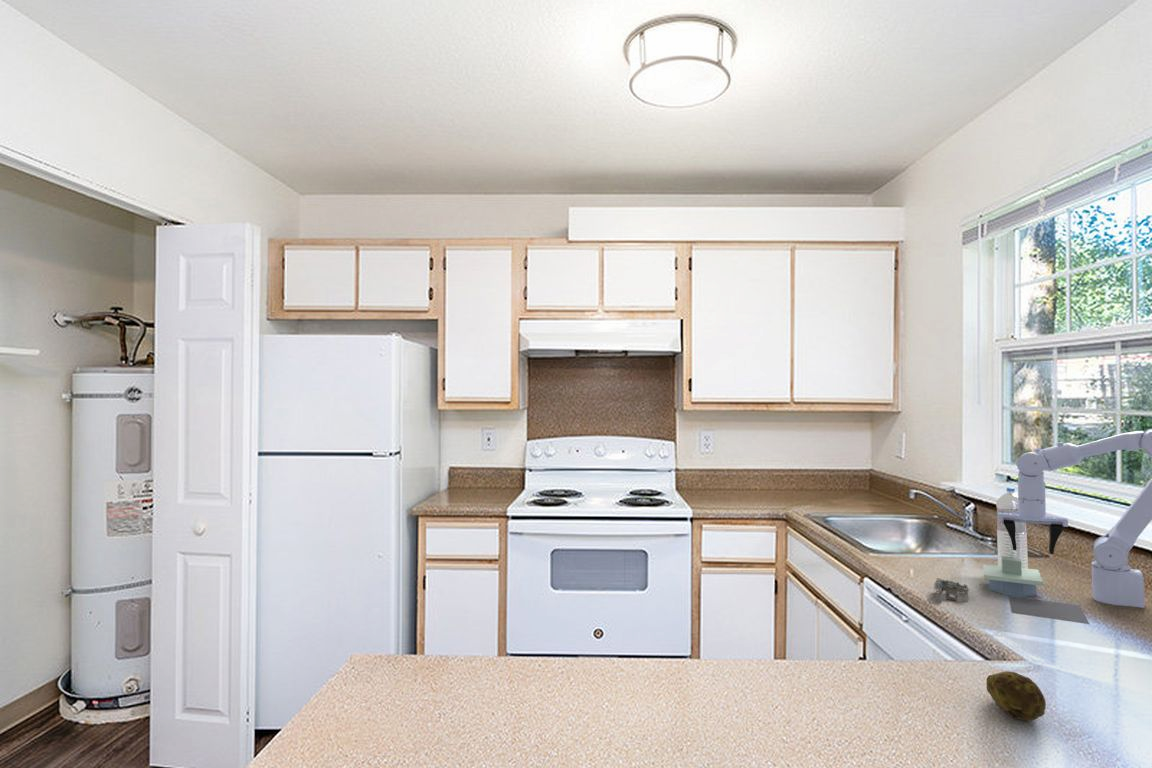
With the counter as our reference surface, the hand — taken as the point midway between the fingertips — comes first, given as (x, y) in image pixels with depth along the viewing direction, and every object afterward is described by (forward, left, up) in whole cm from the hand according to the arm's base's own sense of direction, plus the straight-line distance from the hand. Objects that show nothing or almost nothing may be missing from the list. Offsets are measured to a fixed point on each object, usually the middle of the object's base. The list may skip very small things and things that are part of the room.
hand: (1032, 551), depth 161 cm
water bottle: (+4, -12, -11) cm, 17 cm away
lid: (+5, +4, -6) cm, 9 cm away
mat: (-1, +17, -10) cm, 20 cm away
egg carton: (+18, +16, -11) cm, 26 cm away
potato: (+8, +78, -11) cm, 79 cm away
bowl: (+5, +4, -11) cm, 12 cm away
